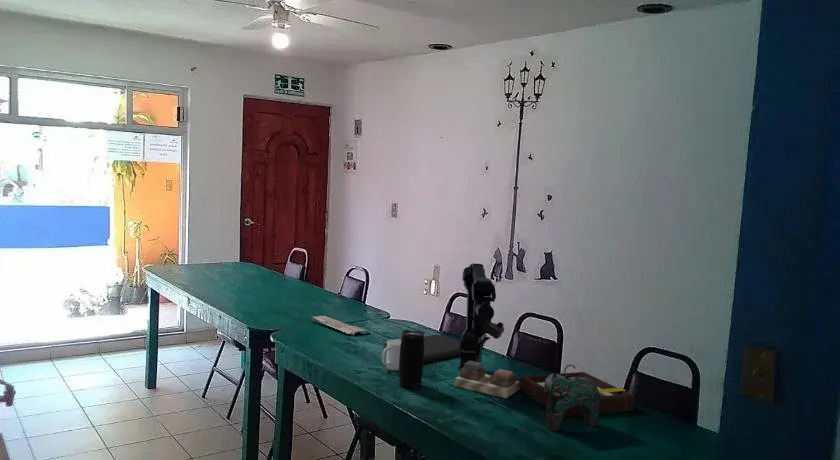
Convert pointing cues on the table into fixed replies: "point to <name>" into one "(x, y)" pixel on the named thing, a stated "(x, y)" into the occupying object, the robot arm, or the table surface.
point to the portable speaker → (411, 359)
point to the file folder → (438, 348)
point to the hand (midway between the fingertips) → (478, 356)
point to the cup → (392, 355)
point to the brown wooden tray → (610, 402)
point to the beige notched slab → (338, 325)
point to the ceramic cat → (571, 399)
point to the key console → (487, 383)
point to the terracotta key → (503, 373)
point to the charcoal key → (473, 366)
